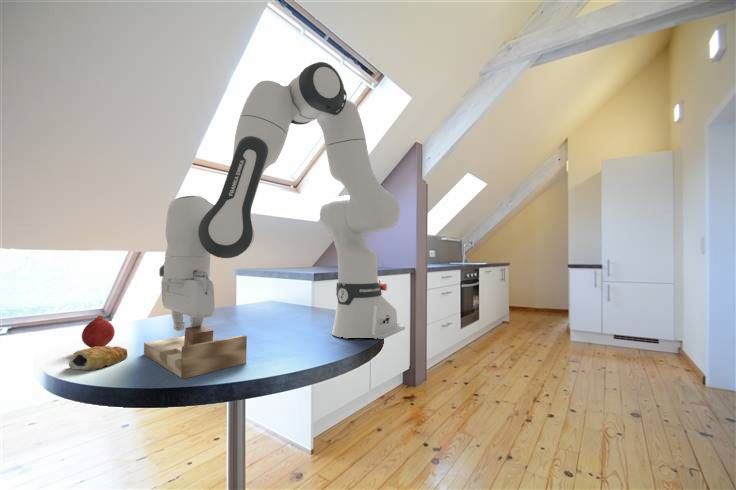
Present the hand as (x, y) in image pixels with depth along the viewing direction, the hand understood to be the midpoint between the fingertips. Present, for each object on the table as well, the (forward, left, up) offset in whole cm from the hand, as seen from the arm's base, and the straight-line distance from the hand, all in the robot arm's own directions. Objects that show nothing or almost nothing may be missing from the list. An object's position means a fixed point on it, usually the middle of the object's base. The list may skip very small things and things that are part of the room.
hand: (186, 333), depth 75 cm
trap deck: (0, +4, -5) cm, 6 cm away
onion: (+12, -18, -5) cm, 22 cm away
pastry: (+14, -6, -5) cm, 16 cm away
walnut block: (0, +7, -2) cm, 7 cm away
